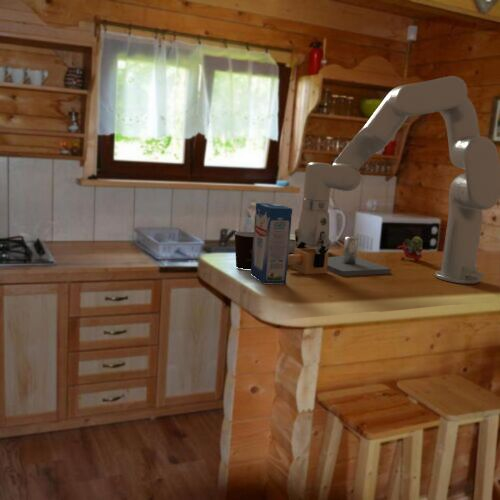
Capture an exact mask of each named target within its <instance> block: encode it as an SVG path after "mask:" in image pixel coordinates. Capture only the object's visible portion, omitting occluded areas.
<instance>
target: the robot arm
mask: <svg viewBox="0 0 500 500" xmlns="http://www.w3.org/2000/svg"><path fill="white" fill-rule="evenodd" d="M467 86H468V85H467V83H466V82H465V81H464V80H463V78H461V77H458V76H456V75H449V76H444V77H439V78H436V79H435V78H434V79H431V80H425V81H419V82H414V83H413V82H412V83H408V84H404V85H399V86H397V87H394V88H392V89H391V90H390V91H389V92H388V93H387V95H386V96H385V97H384V99H382V102H381V103H380V104H379V105H378V107H377V108H376V109H375V111H374V112H373V113H372V115H371V116H370V118H369V119H368V120H367V122H366V123H365V124H364V125H363V126H362V128H361V129H360V130H359V131H358V133H356V135H355V136H354V137H353V138H352V139H351V140H350V141H349V143H348V144H347V145H346V146H345V147H344V148H343V150H342V151H341V152H340V153H339V155H338V156H337V157H336V158H335V160H334V161H333V163H332V164H330V163H325V162H318V161H316V162H315V161H309V162H308V163H307V164H306V168H305V175H304V176H305V178H304V186H303V197H302V204H301V205H302V206H301V212H300V217H299V222H298V228H297V229H295V230H294V234H295V240H296V246H298V247H297V248H307V247H304V246H305V245H306V244H309V245H311V246H314V247H315V250H316V253H317V254H315V257H314V267H315V268H323V267H324V260H325V254H326V253H328V251H329V248H330V245H331V243H332V240H331V239H330V212H329V205H330V199H331V198H330V197H331V189H334V190H338V191H342V192H350V191H353V190H355V189H357V188H358V187H359V185H360V184H361V181H362V175H361V172H360V169H361V167H363V165H365V162H367V161H368V160H369V159H370V158H371V157H372V156H373V155H375V154H377V153H378V152H381V151H382V150H383V149H384V148H385V147H387V146H388V145H389V144H390V142H391V141H392V140H393V138H394V137H395V135H396V134H397V133H398V131H399V130H400V128H401V127H402V126H403V125H404V124H405V122H406V121H407V119H408V118H409V117H413V116H421V115H426V114H432V113H437V112H439V114H440V115H441V117H442V118H443V120H444V122H445V123H444V124H445V128H446V133H447V140H448V142H447V143H448V152H449V153H448V155H449V160H450V162H451V164H452V165H453V166H454V167H456V168H458V169H462V170H464V173H461V174H459V175H458V176H456V177H455V178H454V179H453V180H452V182H451V184H450V186H449V190H448V192H449V193H448V218H447V226H446V230H445V237H444V238H445V239H444V244H443V245H444V246H443V251H442V252H443V253H442V260H441V265H440V266H441V267H440V270H437V271H435V272H434V277H435V278H437V279H440V280H441V281H447V282H449V283H457V284H464V285H465V284H466V285H467V284H468V285H472V284H473V285H474V284H477V283H480V281H481V280H482V279H484V277H485V273H482V272H478V271H479V267H477V258H478V251H479V245H480V239H481V232H482V227H483V210H484V211H485V210H488V209H492V208H493V207H494V206H496V205H497V204H498V203H499V201H500V156H499V152H498V149H497V146H496V144H495V143H494V142H493V141H492V140H491V139H490V138H488V137H487V136H483V135H481V134H480V128H479V121H478V115H477V111H476V108H475V106H474V104H473V103H472V101H471V99H470V98H469V97H468V87H467ZM319 247H321V248H320V249H319Z"/></svg>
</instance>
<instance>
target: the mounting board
mask: <svg viewBox="0 0 500 500" xmlns="http://www.w3.org/2000/svg"><path fill="white" fill-rule="evenodd" d="M342 261H343V256H328V264H327V272H331V273H333V274H335V275H338V276H341V277H353V276H356V277H357V276H368V275H369V276H372V275H388V274H389V275H390V274H391V272H392V268H389V267H387V266H384V265H381V264H378V263H376V262H373V261H370V260H367V259H364V258H361V257H358V256H356V264H354V265H349V264H344V263H342Z"/></svg>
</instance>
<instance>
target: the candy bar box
mask: <svg viewBox="0 0 500 500" xmlns="http://www.w3.org/2000/svg"><path fill="white" fill-rule="evenodd" d="M297 247H298V246H296V240H295V233H290V242H289V253H288V254H294V249H295V248H297ZM304 247H307V248H315V247H314V246H311V245H309V244H306V245H305V246H304ZM320 248H321V247H319V249H320Z"/></svg>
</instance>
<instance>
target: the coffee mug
mask: <svg viewBox="0 0 500 500" xmlns="http://www.w3.org/2000/svg"><path fill="white" fill-rule="evenodd" d="M253 239H254V231H235V232H234V246H235V247H234V249H235V250H234V251H235V268H236V267H238V268H243V269H251V266H252V252H253Z"/></svg>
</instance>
